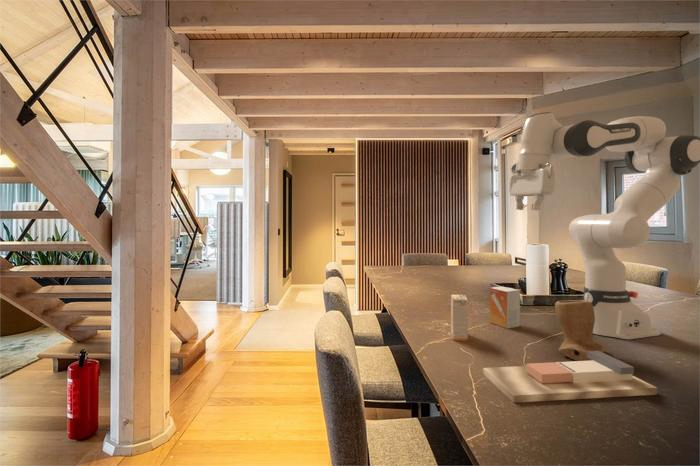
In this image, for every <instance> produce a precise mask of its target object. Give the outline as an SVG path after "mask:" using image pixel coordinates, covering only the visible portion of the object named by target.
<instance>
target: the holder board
mask: <svg viewBox="0 0 700 466" xmlns="http://www.w3.org/2000/svg"><path fill="white" fill-rule="evenodd" d="M482 368H483V369H482V374H483V376H484V377H486V379H488V380H489V381H490V383H492V384H493V385H494V386H495V387H496V388H497V389H498V390H500V392H501V393H503V394H504V396H506V397H507V399H509V400H510V401H511V402H512V403H531V402H549V401H565V400H566V401H569V400H584V399H600V398H601V399H602V398H620V397H635V396H636V397H637V396H638V397H639V396H655V395H657V394H658V387H657V386H654V385H652V384H651V383H648V382H646V381H644V380H642V379H641V378H639V377H636V376H634V374H632V380H621V381H602V382H583V383H572V382H558V383H541V382H539V381H538V380H536V379H535V378H534V377H532V376H531V375H530V374H528V373H527V372H526V365H518V366H517V365H516V366H500V367H498V366H497V367H482Z"/></svg>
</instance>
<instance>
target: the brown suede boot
mask: <svg viewBox="0 0 700 466" xmlns="http://www.w3.org/2000/svg"><path fill="white" fill-rule="evenodd" d="M554 308H555V317H556V319H557V322H558V324H559V326H560V330H561V331H562V335H563V342H561V345H560V346H559V348H558V352H559V353H561V354H562V355H564V356H565V357H567V358H569V359H571V360H573V361H591V360H592V359H590V358H588V357H587V351H600V352H603V353H605V352H604V351H605V346H604V345H603V344H601V343H598V342H594V340H593V337H594V336H593V334H594V333H593V328H594V323H595V315H594V308H593V305H592V303H591V302H589V301H587V300H584V299H579V300H574V299H573V300H572V299H567V300H557V301H556V302H555V303H554Z"/></svg>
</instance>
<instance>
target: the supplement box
mask: <svg viewBox="0 0 700 466" xmlns="http://www.w3.org/2000/svg"><path fill="white" fill-rule="evenodd" d="M468 304H469V300H468V298H467V296H466V294H451V295H450V333H451V337H452V340H453V341H462V342H463V341H464V342H467V341H469V305H468Z"/></svg>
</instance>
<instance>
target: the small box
mask: <svg viewBox="0 0 700 466" xmlns="http://www.w3.org/2000/svg"><path fill="white" fill-rule="evenodd" d="M489 291H490V292H489V323H490V324H494V325H496V326H499V327H502V328H504V329H512V328H518V327H520V324H521V323H520V322H521V317H520V316H521V314H520V313H521V309H520V307H521V290H520V289H518V288H517V289H515V288H513V287H508V286H507V287H506V286H502V285H501V286H494V287H493V286H492V287H489Z"/></svg>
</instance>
